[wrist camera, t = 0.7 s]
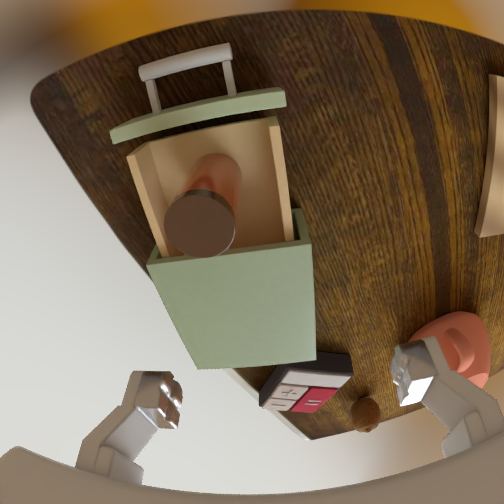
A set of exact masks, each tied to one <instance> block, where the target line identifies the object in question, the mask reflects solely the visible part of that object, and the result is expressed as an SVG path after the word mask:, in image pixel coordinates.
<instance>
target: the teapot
mask: <svg viewBox="0 0 504 504" xmlns="http://www.w3.org/2000/svg"><path fill="white" fill-rule="evenodd" d="M430 336H434V337H436V339H437V341H438V343H439V345H440V347H441V349H442V352H443V354H444V356H445V358H446V360H447V363H448V365H449V367H450V369H451V371H452V370H455V371H457V372H458V373H460V374H461V375H462V376H464V377H465V378H467V379H468V380H469V381H471V382H472V383H474V384H475V385H477V386H478V387H479V388H482V387H483V386H484V384H485V383H486V381H487V379H488V376H489V369H490V342H489V337H488V333H487V330H486V327H485V325H484V323H483V321H482V319H481V318H480V317H479V316H477V315H476V314H473V313H469V312H464V311H457V312H453V313H449V314H447V315H444V316H442V317H439V318H437V319H435V320H433V321H431V322H430V323H428V324H426V325H425V326H423V327H422V328H420V329H419V330H418V331H417V332H415V333H414V335H413V336H412V337H411V338H410V339H409V341H408V342H410V341H414V340H418V339H423V338H427V337H430Z"/></svg>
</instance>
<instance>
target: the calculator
mask: <svg viewBox="0 0 504 504" xmlns="http://www.w3.org/2000/svg"><path fill="white" fill-rule="evenodd" d="M353 375H354V372H353V366H352V361H351V356H350V355H345V354H335V353H326V352H318V351H316V360H312V361H304V362H295V363H286V364H277V366H276V368H275V369H274V371H273V372H272V374H271V375H270V377H269V378H268V380H267V381H266V383H265V384H264V386H263V387H262V389H261V390H260V392H259V406H261V407H262V408H263V409H272V410H283V411H287V410H288V409H290V411H296V412H315V411H316V410H317V409H318V408H319V407H321V406H322V405H323V404H324V403H325V402H326V401H327V400H328V399H329V398H331V397H332V396H333V395H334V394H335V393H336V392H337V391H338V389H339V388H340V387H341V386H342V385H343V384H344V383H345V382H347V381H348V380H349V379H350V378H351V377H352V376H353Z"/></svg>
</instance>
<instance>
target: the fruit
mask: <svg viewBox="0 0 504 504" xmlns="http://www.w3.org/2000/svg"><path fill="white" fill-rule="evenodd" d="M350 420H351V423H352V425H353V427H354V428H355V429H356V430H357V431H359V432H370V431H371V430H373V429H374V428H376V427H377V426H378V424H379V421H380V409H379V406H378V404H377V403H376V402H375V401H374V400H373V399H371V398H364V397H363V398H360V399H359V400H357V401H356V402H354V404H353V405H352V407H351V410H350Z"/></svg>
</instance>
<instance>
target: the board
mask: <svg viewBox="0 0 504 504" xmlns="http://www.w3.org/2000/svg"><path fill="white" fill-rule="evenodd" d="M474 232H475V233H476V234H477V235H478V236H479V237H486V236H493V235H499V234H504V77H501V76H497V75H493V74H489V131H488V146H487V157H486V166H485V174H484V181H483V188H482V194H481V200H480V205H479V211H478V216H477V221H476V225H475V230H474Z"/></svg>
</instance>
